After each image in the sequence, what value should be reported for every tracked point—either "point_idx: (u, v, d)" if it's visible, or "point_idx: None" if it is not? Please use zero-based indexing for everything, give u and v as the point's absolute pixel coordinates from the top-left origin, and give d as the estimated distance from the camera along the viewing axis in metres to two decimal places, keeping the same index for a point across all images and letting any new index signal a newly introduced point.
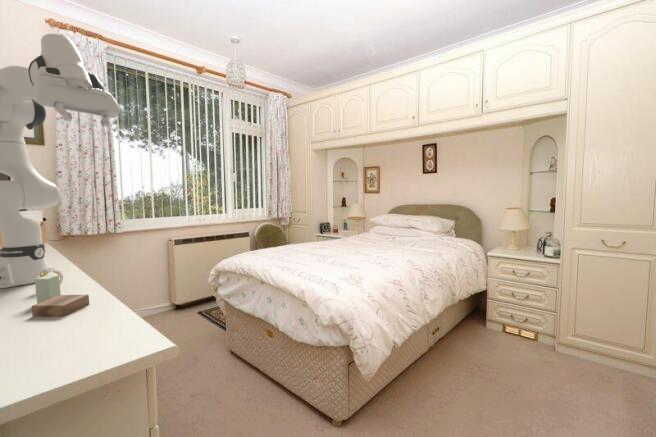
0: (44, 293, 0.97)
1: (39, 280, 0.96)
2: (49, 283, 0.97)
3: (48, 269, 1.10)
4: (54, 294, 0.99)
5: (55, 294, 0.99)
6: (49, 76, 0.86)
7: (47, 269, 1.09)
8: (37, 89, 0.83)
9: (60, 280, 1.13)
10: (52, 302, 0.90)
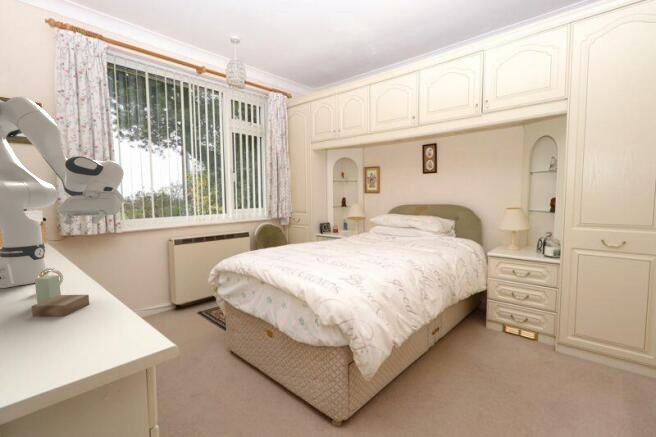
0: (44, 293, 0.97)
1: (39, 280, 0.96)
2: (49, 283, 0.97)
3: (48, 269, 1.10)
4: (54, 294, 0.99)
5: (55, 294, 0.99)
6: None
7: (47, 269, 1.09)
8: (119, 208, 1.16)
9: (60, 280, 1.13)
10: (52, 302, 0.90)
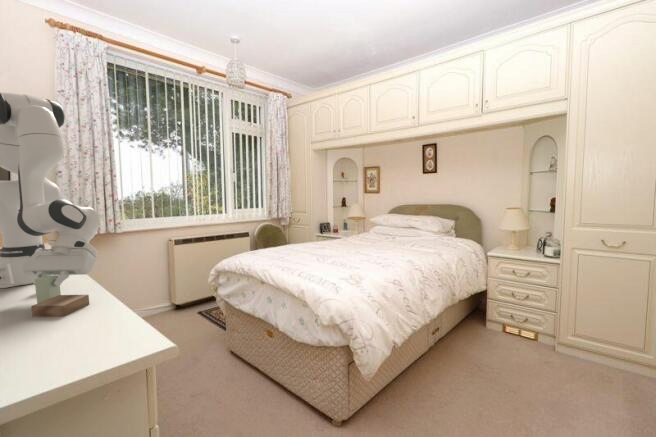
0: (44, 293, 0.97)
1: (39, 280, 0.96)
2: (49, 283, 0.97)
3: None
4: (54, 294, 0.99)
5: (55, 294, 0.99)
6: None
7: None
8: (91, 266, 1.04)
9: None
10: (52, 302, 0.90)
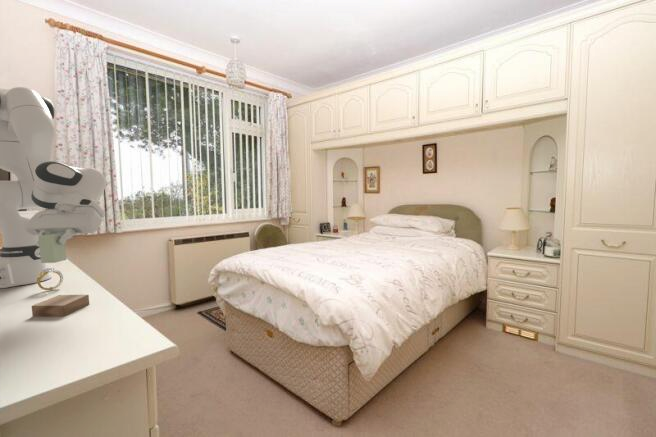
0: (49, 250, 0.91)
1: (43, 237, 0.90)
2: (54, 240, 0.91)
3: (48, 269, 1.10)
4: (59, 253, 0.93)
5: (60, 253, 0.93)
6: None
7: (47, 269, 1.09)
8: (98, 225, 0.98)
9: (60, 280, 1.13)
10: (52, 302, 0.90)
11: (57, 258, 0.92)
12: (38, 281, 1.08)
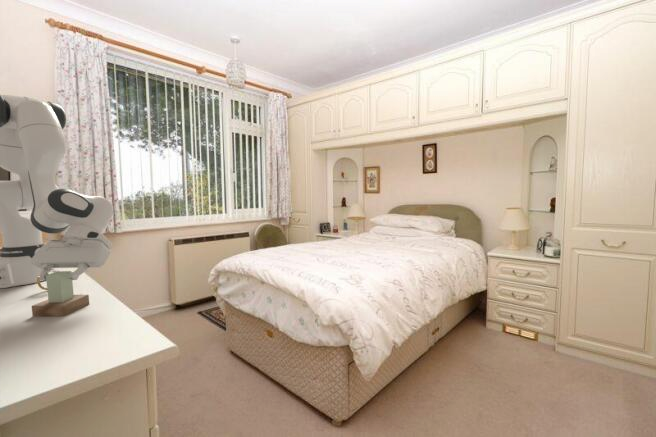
0: (56, 290, 0.90)
1: (51, 276, 0.89)
2: (62, 279, 0.90)
3: None
4: (66, 291, 0.91)
5: (67, 291, 0.92)
6: None
7: None
8: (105, 259, 0.96)
9: None
10: (52, 302, 0.90)
11: (64, 297, 0.91)
12: (38, 281, 1.08)
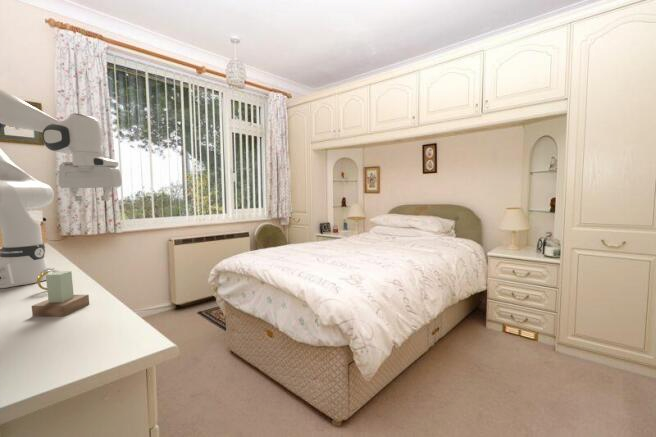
0: (56, 290, 0.90)
1: (51, 276, 0.89)
2: (62, 279, 0.90)
3: (48, 269, 1.10)
4: (66, 291, 0.91)
5: (67, 291, 0.92)
6: None
7: (47, 269, 1.09)
8: (120, 179, 1.13)
9: None
10: (52, 302, 0.90)
11: (64, 297, 0.91)
12: (38, 281, 1.08)
